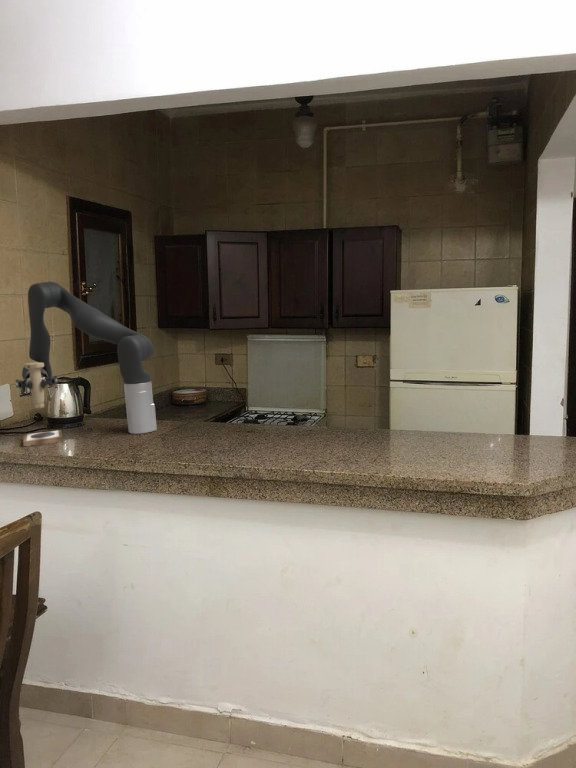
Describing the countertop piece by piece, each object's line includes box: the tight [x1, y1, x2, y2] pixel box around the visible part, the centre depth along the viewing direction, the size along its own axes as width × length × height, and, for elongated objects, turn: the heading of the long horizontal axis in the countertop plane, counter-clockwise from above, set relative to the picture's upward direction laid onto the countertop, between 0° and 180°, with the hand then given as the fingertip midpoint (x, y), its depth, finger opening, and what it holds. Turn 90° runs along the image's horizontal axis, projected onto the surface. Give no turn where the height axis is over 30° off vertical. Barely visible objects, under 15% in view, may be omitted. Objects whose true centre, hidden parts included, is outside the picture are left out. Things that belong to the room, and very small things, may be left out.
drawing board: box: [22, 429, 64, 447], centre depth 201 cm, size 12×12×2 cm
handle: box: [23, 361, 45, 410], centre depth 198 cm, size 5×6×15 cm
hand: (36, 385), depth 195 cm, fingers closed on handle, 3 cm apart
